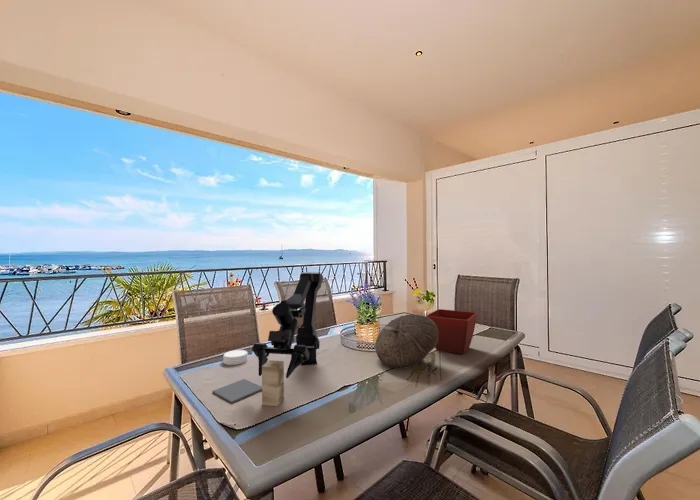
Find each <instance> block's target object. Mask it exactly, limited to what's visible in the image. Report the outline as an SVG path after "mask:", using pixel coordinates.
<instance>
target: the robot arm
mask: <svg viewBox="0 0 700 500" xmlns="http://www.w3.org/2000/svg"><path fill="white" fill-rule="evenodd" d="M323 281H324V276H323V274H322V273H321V271H320V272H319V271H307V272H306V271H305V272H301V273H300V275H299V280H298V282H297V284H296V287H295V290H294V292H293V294H292V296H290V297H289V298H287V300H285V299H284V300H283V299H282V300H281V301H280V302H279V303H277V304H276V305H275V306H273V308H272V314H273V316H274V319H275V320H276V322H277V324H278V325H279V329H278V330H269V333H268V338H267V342H270V345H271V346H273V347H268V345H267V344H266V342H254V344H253V345H252V347H251V351H252V352H253V353H254V355H255V356H256V357H257V358H258V359H257V360H258V376H259V377H262V366H263V365H264V364H265V363H267V362H268V361H269V358H268V357H269V356H270V354H272V355H290V360H289V365H288V368H287V370H286V374H285V378H286V379H288V378H289V377H290V376H291V375H292V374H293V372H294V371H295V370H296V369H297V368H298V366H300V365H301V366H309V365H316V364H318V361H317V350H319V349H320V345H321V344H320V342H321V341H320V340H319V337H318V335H317V334H318V332H317V329H316V327H315V325H314V324H315V314H316V307H317V305H316V304H317V295H318V292H319V290H321V287H322V283H323ZM302 317H303V318H302ZM297 318H299V319H300V318H302V319H303V320H302V324H301V326H300V327H299V321H298V319H297ZM296 331H297V334H296ZM295 335H296V336H295ZM295 342H296V344H295V345H294V346H293V345H292V344H293V343H295ZM292 346H293V348H292Z"/></svg>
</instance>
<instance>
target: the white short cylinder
mask: <svg viewBox="0 0 700 500" xmlns="http://www.w3.org/2000/svg"><path fill="white" fill-rule="evenodd" d="M248 355H249V354H248V351H247V350H244V349H235V350H230V351H227V352H225V353H224V354H223V355H222V356H223V362H222V363H223V364H224V365H228V366H234V365H235V366H236V365H241V364H243V363H246V362H247V361H248V358H249V356H248Z"/></svg>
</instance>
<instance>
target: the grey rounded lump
mask: <svg viewBox="0 0 700 500" xmlns="http://www.w3.org/2000/svg"><path fill="white" fill-rule="evenodd" d="M438 338H439V335H438V329H437V326H436V324H435V323H434V322H433V320H431V319H430V318H428V317H427V315H426V316H425V315H420V314H405V315H400V316H397V317H395V318H394V319H391V320H390V322H388V323H387V324H385V325H384V326H383V328H382V329H381V330H380V332H379V333H378V336H377V337H376V340H375V353H376V354H377V355H376V356H377V358H378V360H379V361H380V362H381V363H383V364H384V365H385V366H387V367H389V368H392V369H407V368H411V367H414V366H416V365H417V364H419V363H420V362H422V361H423V360H424V359H425V358H426V356H427V355H428V354H429V353H431V352H432V350H434V349H436V348H435V346H436V345H437V343H438Z"/></svg>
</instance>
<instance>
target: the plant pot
mask: <svg viewBox="0 0 700 500" xmlns="http://www.w3.org/2000/svg"><path fill="white" fill-rule="evenodd" d="M477 315H478V313H477V312H471V311H463V310H453V309H445V308H443V309H442V308H441V309H440V308H439V309H436V310H434V311H432V312H431V313H429V314H427V315H426V317H428V318H430V319H431V320H433V322H434V323H435V324H436V326H437V329H438V335H439V338H438V343H437V345H436V346H435V348H434V349H435V350H436V351H441V352H446V353H447V352H448V353H452V354H458V355H463V354H465V353H466V352H467V351H468V349H469V348H470V347H471V343H472V340H473V335H474V332H475V327H476V322H477Z"/></svg>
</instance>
